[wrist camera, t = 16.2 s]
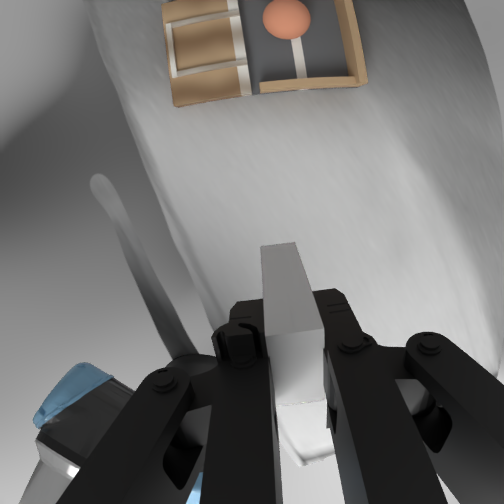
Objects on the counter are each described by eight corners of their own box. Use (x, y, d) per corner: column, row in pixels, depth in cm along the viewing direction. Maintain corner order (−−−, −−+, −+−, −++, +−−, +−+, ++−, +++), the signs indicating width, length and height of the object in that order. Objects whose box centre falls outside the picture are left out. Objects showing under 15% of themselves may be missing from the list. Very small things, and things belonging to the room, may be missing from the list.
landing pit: (356, 87, 34) (368, 82, 30) (251, 95, 35) (251, 90, 31) (337, -9, 29) (346, -22, 25) (236, -4, 30) (234, -18, 26)
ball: (271, 39, 28) (254, 36, 32) (317, 43, 29) (296, 39, 33) (274, -6, 24) (257, -4, 28) (321, 0, 26) (299, 1, 29)
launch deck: (251, 95, 35) (251, 91, 32) (178, 107, 36) (172, 105, 33) (236, -4, 30) (235, -13, 27) (166, 10, 31) (160, 2, 28)
